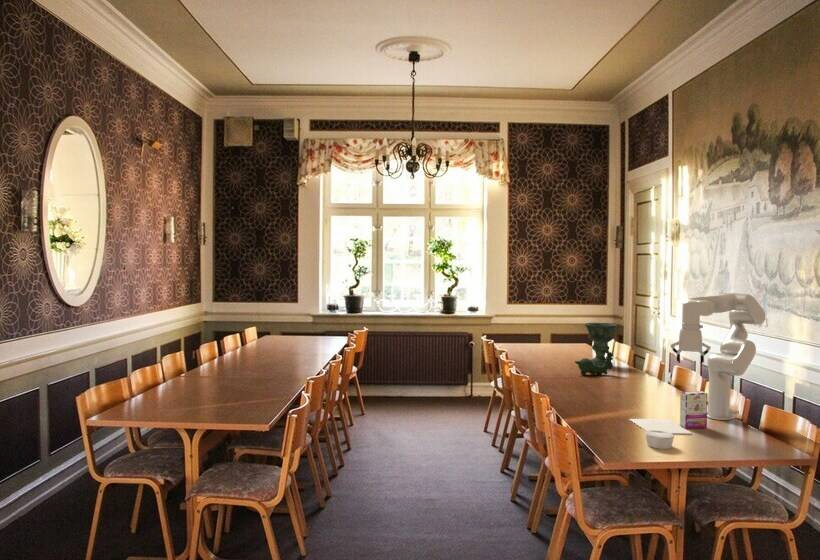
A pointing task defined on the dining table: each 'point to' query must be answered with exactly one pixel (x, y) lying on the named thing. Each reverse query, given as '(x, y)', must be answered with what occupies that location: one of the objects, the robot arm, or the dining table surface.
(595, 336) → the goblet
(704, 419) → the candy bar box
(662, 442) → the ramekin
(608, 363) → the toy figurine
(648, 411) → the dining table surface
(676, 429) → the mat
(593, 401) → the dining table surface
